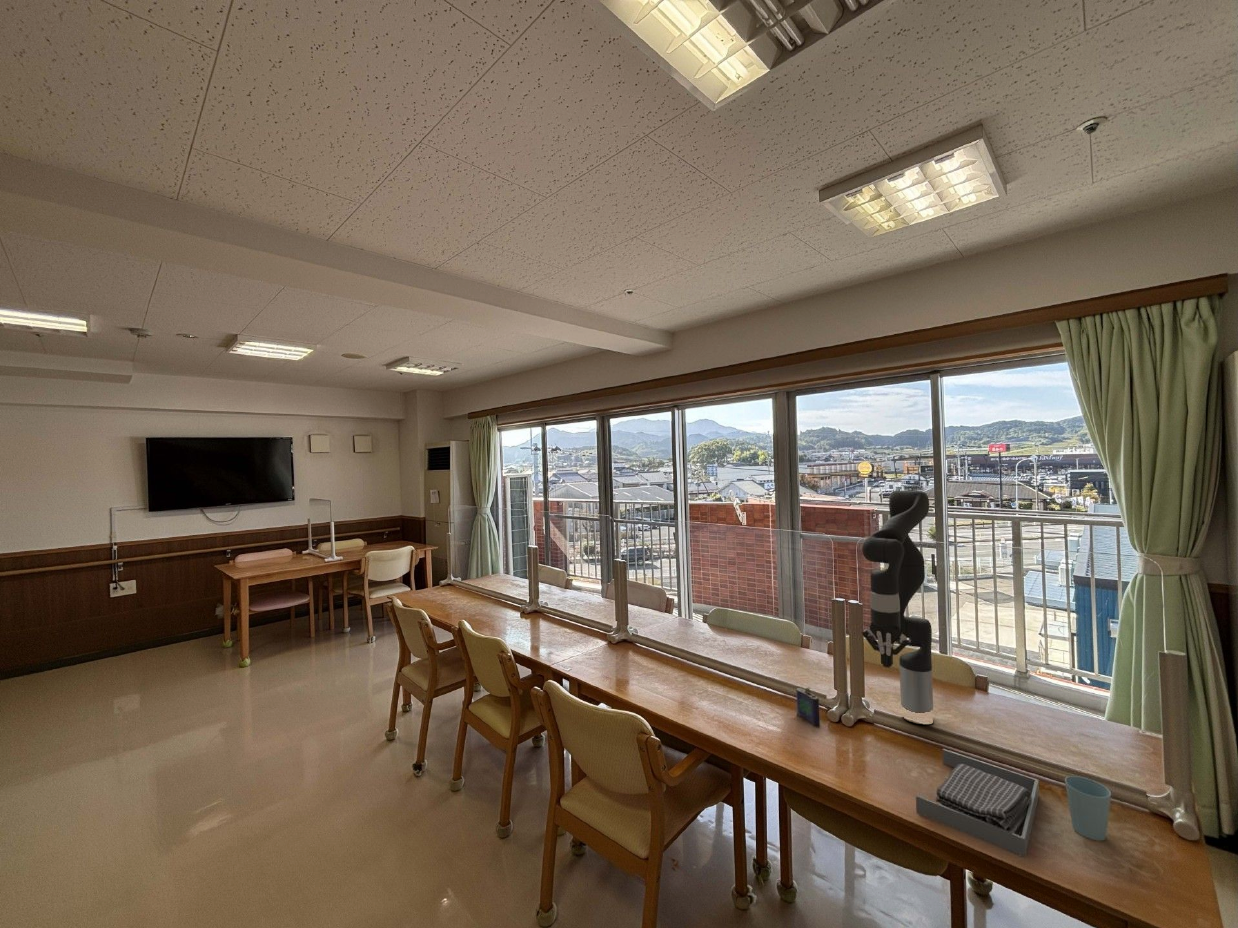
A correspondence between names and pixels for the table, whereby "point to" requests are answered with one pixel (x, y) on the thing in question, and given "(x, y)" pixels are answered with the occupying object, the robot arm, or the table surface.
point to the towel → (985, 798)
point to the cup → (1088, 806)
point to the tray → (977, 826)
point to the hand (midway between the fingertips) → (887, 666)
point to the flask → (808, 706)
